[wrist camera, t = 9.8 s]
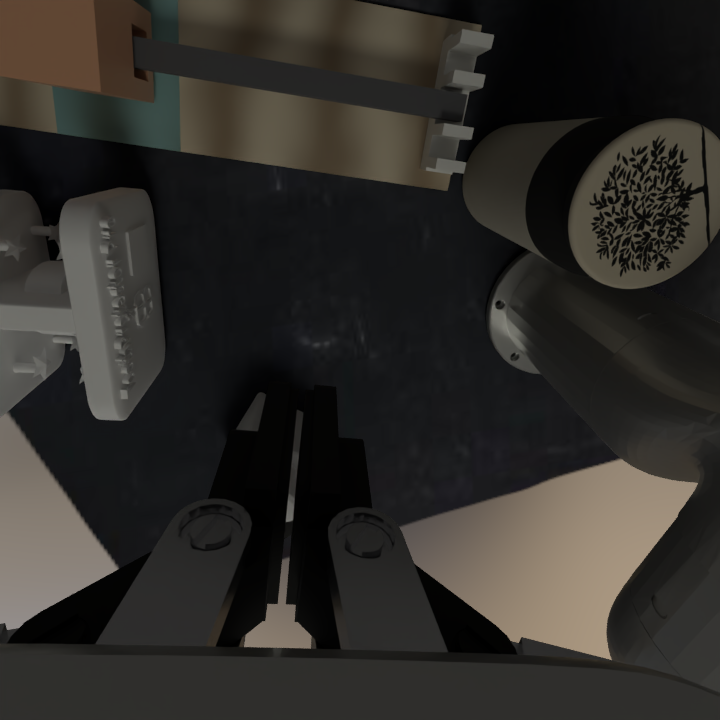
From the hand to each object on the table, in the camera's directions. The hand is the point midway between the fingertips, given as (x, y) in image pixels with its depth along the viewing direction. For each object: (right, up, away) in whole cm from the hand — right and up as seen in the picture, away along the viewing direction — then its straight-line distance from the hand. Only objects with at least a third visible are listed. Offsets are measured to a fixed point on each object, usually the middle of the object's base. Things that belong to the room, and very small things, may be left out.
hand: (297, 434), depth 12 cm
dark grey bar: (-6, +21, +19) cm, 29 cm away
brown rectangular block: (-15, +22, +19) cm, 33 cm away
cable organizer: (-20, +9, +27) cm, 34 cm away
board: (-7, +22, +21) cm, 31 cm away
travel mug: (+14, +16, +26) cm, 33 cm away
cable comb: (+8, +21, +23) cm, 32 cm away
